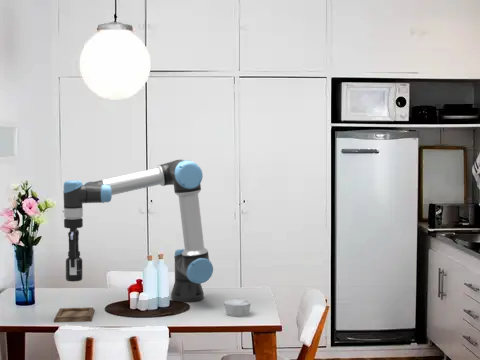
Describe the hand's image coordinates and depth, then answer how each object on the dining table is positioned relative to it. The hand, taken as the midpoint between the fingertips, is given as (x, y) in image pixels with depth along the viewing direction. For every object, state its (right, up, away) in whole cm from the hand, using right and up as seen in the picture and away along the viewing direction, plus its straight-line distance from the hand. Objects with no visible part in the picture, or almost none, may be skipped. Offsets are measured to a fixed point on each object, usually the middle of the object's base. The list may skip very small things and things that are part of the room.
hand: (74, 272), depth 299 cm
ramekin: (+68, -19, +7) cm, 71 cm away
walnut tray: (0, -19, +1) cm, 19 cm away
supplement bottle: (0, -3, 0) cm, 3 cm away
